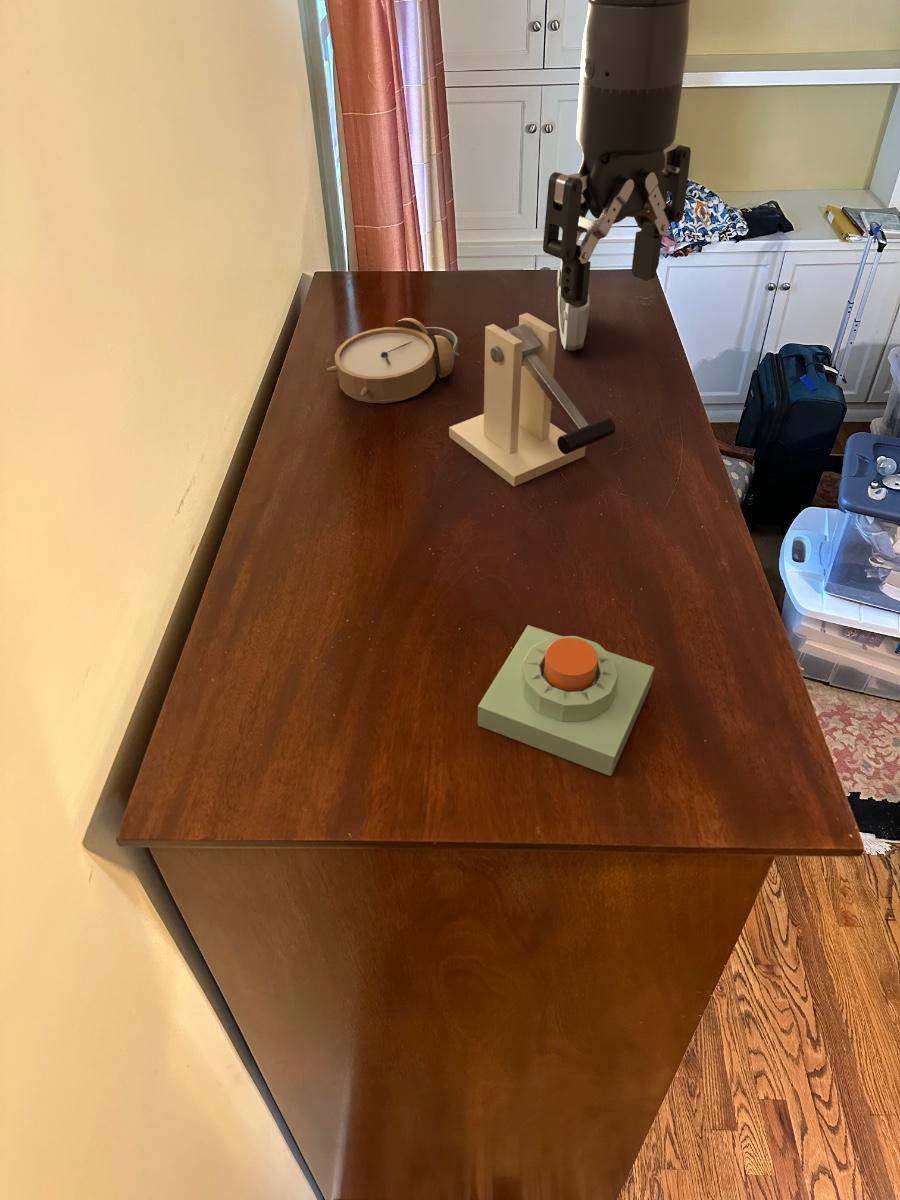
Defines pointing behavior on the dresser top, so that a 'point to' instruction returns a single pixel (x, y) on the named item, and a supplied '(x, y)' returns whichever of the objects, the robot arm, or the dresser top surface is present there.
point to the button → (570, 664)
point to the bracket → (515, 410)
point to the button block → (566, 704)
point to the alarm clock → (394, 361)
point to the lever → (560, 398)
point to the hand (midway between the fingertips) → (609, 290)
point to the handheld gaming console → (571, 320)
